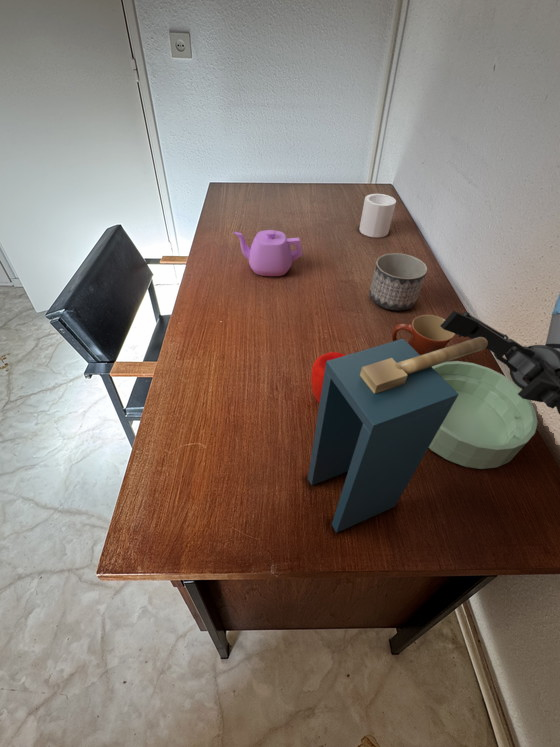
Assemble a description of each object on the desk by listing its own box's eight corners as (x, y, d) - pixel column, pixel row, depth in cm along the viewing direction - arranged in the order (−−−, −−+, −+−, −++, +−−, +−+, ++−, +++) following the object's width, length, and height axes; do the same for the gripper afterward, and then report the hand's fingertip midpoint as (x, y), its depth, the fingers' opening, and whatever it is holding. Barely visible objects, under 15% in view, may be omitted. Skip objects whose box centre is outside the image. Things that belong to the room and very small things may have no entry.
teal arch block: (395, 506, 60) (459, 394, 40) (336, 533, 57) (373, 425, 37) (362, 456, 67) (403, 338, 46) (307, 478, 63) (326, 361, 43)
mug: (438, 353, 86) (453, 318, 79) (440, 379, 80) (457, 344, 73) (385, 344, 88) (396, 309, 81) (384, 369, 82) (395, 334, 75)
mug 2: (369, 218, 137) (375, 188, 129) (396, 225, 133) (403, 195, 126) (354, 232, 129) (359, 200, 121) (381, 240, 125) (389, 208, 118)
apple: (342, 423, 72) (351, 386, 64) (301, 407, 74) (304, 369, 66) (356, 393, 77) (366, 355, 69) (318, 378, 80) (323, 340, 72)
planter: (371, 283, 106) (378, 249, 99) (416, 291, 104) (427, 257, 97) (365, 308, 98) (373, 273, 90) (414, 317, 96) (427, 282, 88)
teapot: (237, 255, 116) (235, 219, 108) (301, 257, 116) (303, 222, 108) (232, 278, 107) (230, 241, 99) (302, 280, 107) (304, 243, 99)
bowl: (542, 447, 69) (564, 425, 64) (455, 488, 63) (472, 466, 58) (464, 373, 82) (477, 350, 77) (385, 401, 76) (394, 377, 71)
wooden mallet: (473, 339, 47) (478, 329, 45) (491, 354, 45) (497, 344, 44) (359, 375, 42) (362, 365, 41) (374, 394, 40) (377, 384, 39)
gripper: (595, 447, 54) (544, 448, 41) (471, 341, 69) (406, 318, 56) (644, 411, 50) (605, 400, 37) (501, 309, 66) (439, 276, 53)
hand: (485, 350), depth 47 cm, fingers open, 13 cm apart
